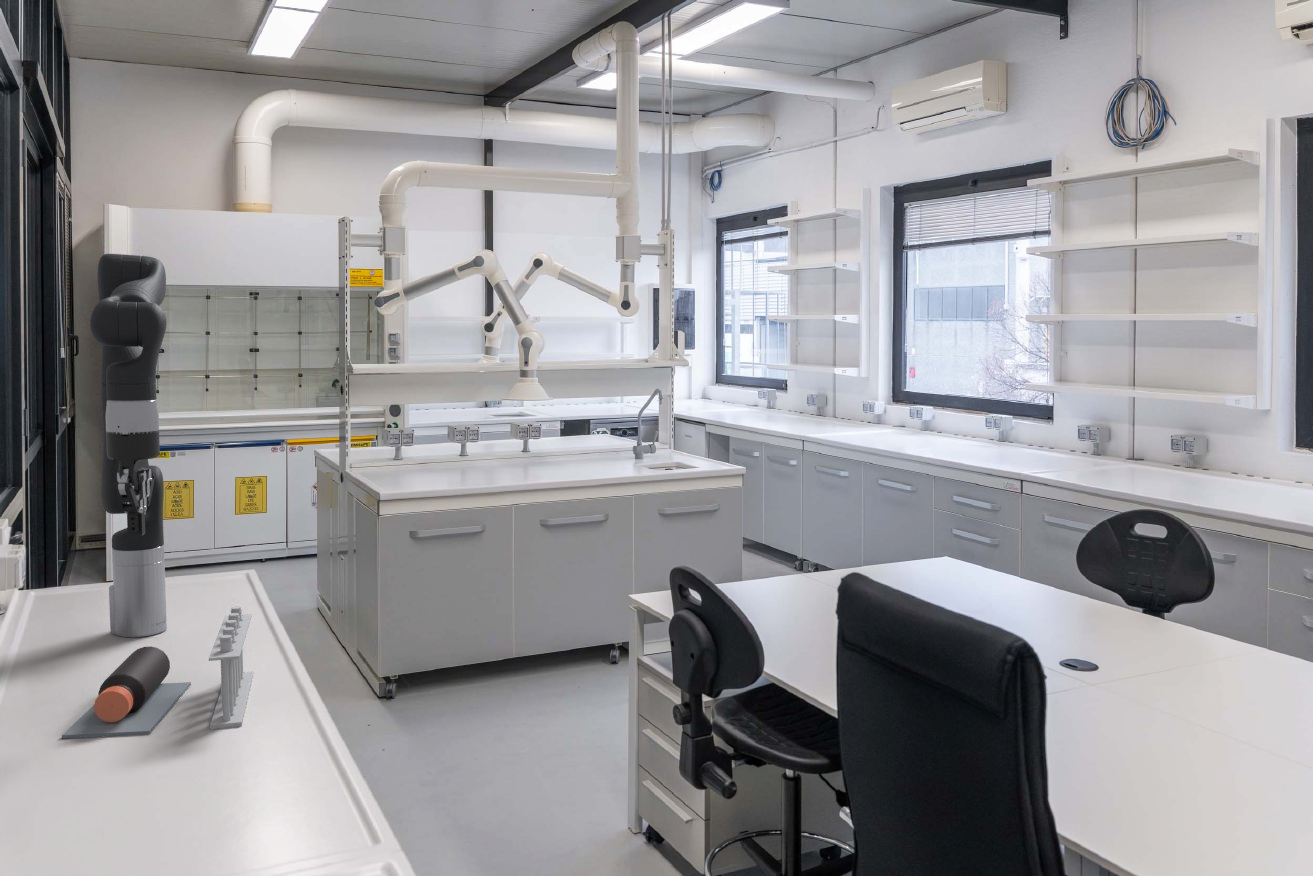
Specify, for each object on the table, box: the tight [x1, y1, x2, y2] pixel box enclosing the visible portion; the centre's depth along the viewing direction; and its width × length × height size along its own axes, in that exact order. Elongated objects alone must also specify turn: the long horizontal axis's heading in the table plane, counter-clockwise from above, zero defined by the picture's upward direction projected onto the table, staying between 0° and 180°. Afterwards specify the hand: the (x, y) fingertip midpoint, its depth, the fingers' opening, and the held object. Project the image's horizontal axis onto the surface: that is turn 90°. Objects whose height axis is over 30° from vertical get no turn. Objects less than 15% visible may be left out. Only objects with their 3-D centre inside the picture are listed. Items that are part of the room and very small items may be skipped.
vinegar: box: [93, 646, 171, 722], centre depth 162 cm, size 7×7×20 cm
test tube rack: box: [208, 606, 254, 730], centre depth 164 cm, size 25×4×13 cm, turn 18°
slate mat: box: [61, 681, 192, 740], centre depth 160 cm, size 22×12×1 cm, turn 10°
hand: (136, 535), depth 163 cm, fingers closed
